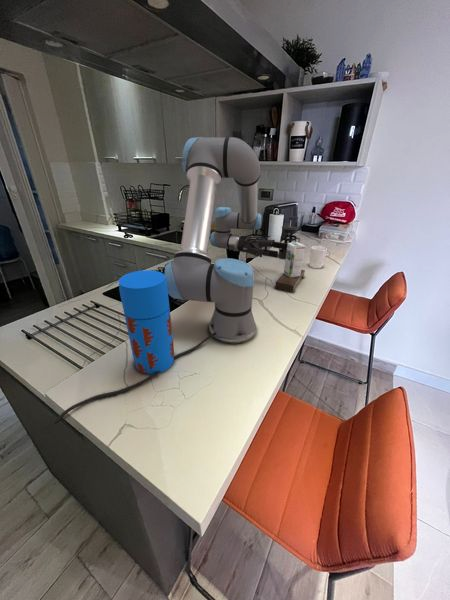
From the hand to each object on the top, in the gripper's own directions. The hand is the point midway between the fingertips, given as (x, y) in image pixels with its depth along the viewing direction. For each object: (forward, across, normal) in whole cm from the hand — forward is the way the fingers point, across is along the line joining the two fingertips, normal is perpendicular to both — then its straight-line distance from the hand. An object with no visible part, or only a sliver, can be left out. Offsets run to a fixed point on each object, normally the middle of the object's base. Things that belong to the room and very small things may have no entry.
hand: (282, 250), depth 115 cm
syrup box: (+6, 0, -11) cm, 12 cm away
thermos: (-12, +72, -14) cm, 74 cm away
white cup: (+12, -27, -14) cm, 33 cm away
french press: (-6, -34, -14) cm, 38 cm away
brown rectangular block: (+6, +1, -14) cm, 15 cm away
